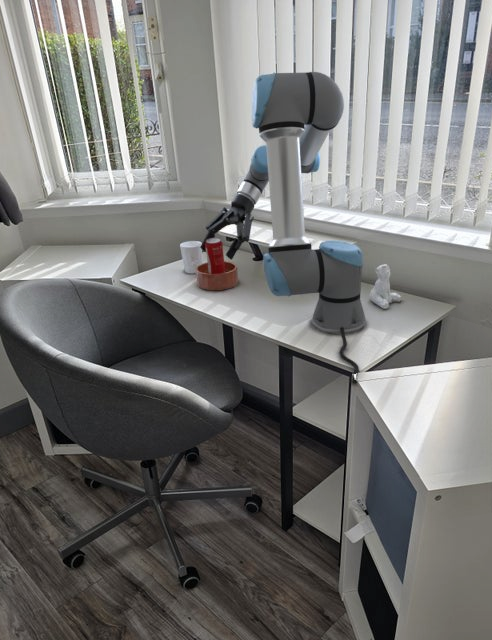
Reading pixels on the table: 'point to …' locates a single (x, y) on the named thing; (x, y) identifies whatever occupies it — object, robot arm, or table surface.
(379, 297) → the sitting furry creature
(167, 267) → the table surface
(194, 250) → the white cup
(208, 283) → the bowl
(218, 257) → the beverage can
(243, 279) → the table surface
